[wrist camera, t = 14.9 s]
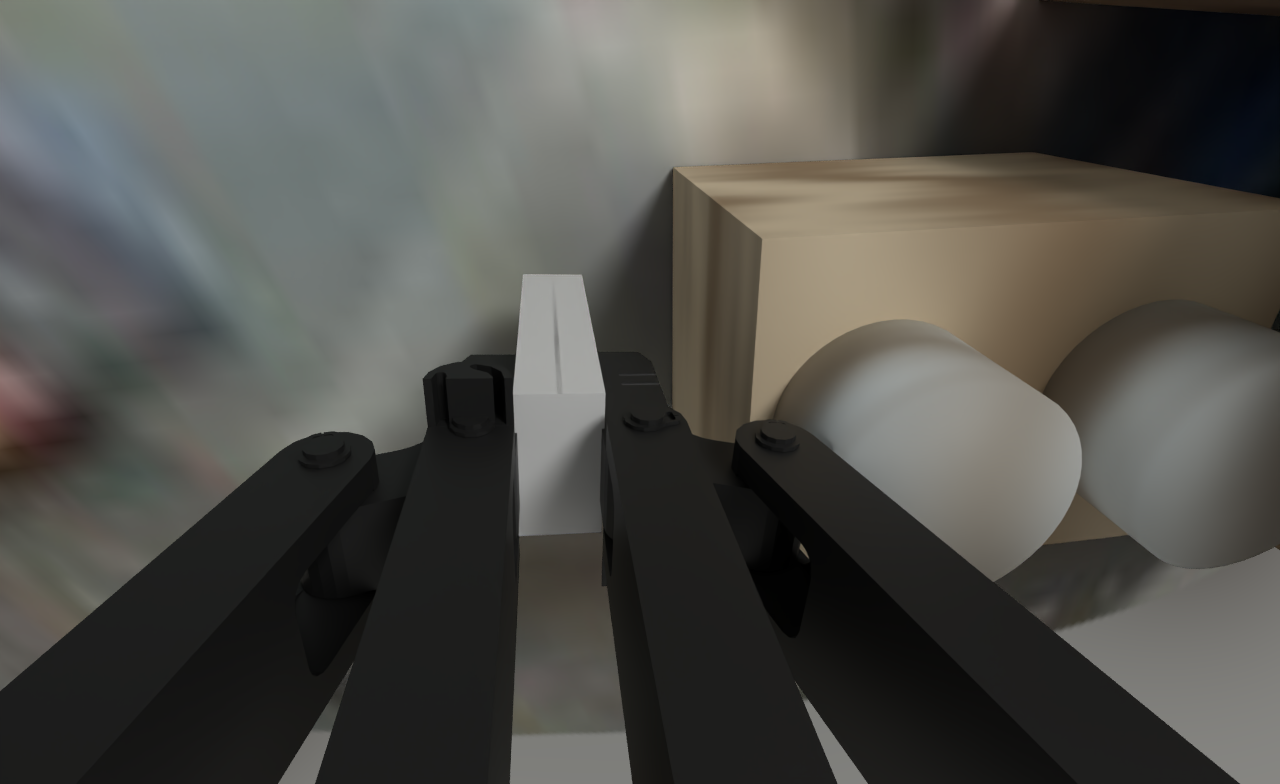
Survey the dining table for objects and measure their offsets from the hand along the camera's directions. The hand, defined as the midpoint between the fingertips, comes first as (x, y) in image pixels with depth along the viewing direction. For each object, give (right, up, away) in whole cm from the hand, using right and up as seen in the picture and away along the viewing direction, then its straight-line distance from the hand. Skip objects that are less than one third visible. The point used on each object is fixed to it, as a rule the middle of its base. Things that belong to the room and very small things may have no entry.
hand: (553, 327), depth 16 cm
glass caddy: (+8, +1, +2) cm, 8 cm away
